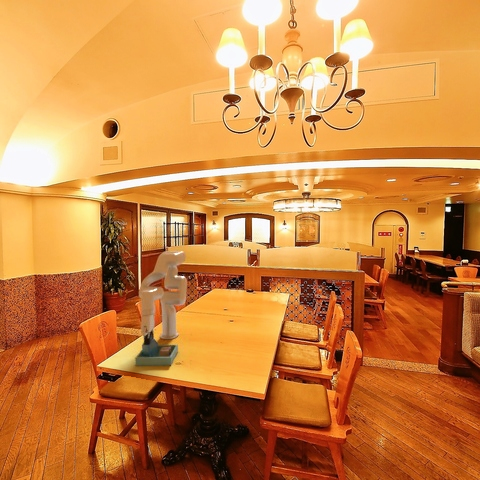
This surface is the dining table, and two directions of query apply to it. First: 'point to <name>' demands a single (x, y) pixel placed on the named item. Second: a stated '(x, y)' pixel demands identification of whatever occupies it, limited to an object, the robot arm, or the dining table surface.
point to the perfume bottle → (150, 347)
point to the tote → (157, 358)
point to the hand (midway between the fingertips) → (148, 341)
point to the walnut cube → (165, 352)
